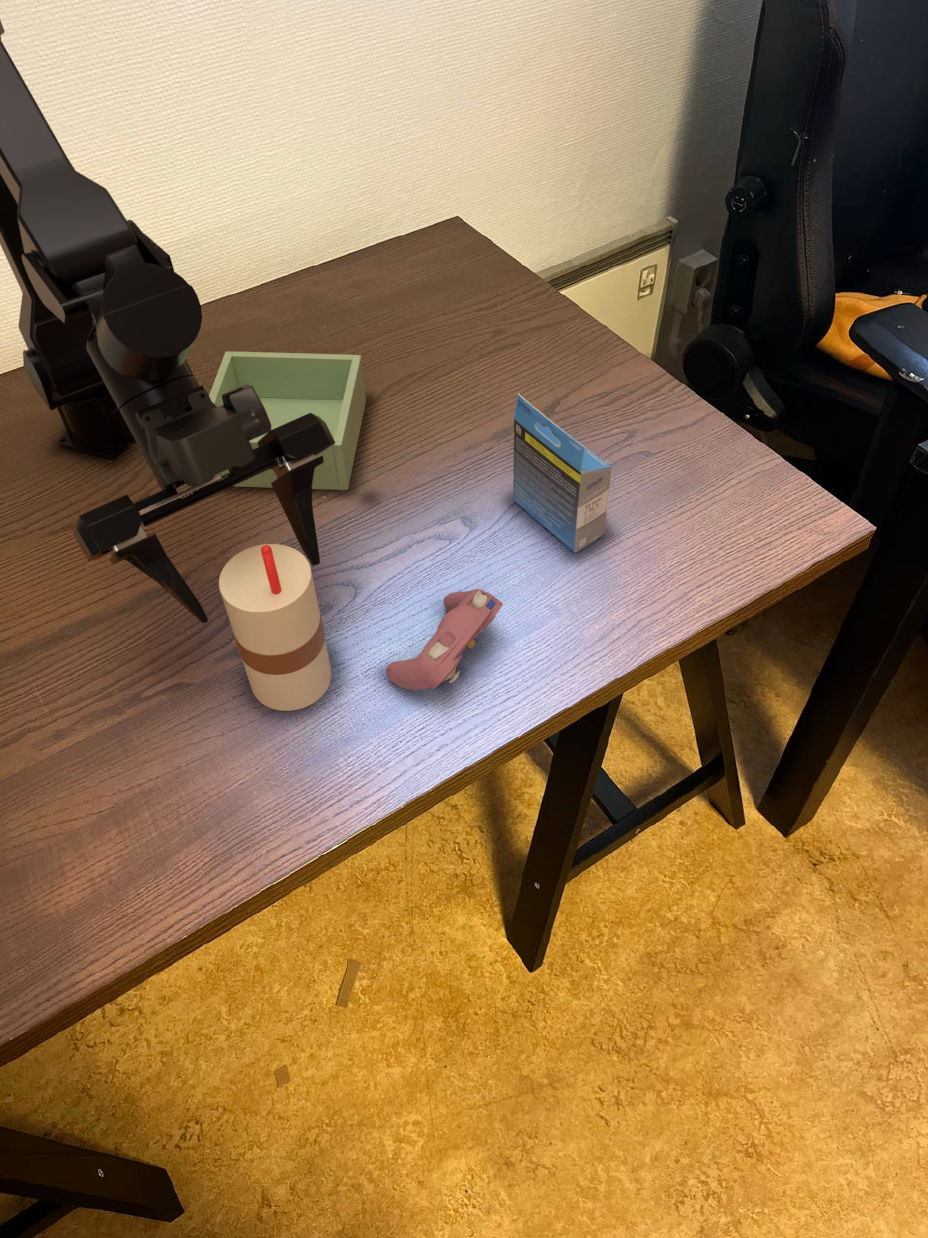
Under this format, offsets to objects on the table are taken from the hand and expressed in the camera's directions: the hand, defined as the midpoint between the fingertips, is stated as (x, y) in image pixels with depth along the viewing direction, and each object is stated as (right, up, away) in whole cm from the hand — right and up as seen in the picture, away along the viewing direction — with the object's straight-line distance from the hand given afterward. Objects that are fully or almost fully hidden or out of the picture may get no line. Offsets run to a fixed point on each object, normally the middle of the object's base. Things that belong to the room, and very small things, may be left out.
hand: (262, 592), depth 69 cm
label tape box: (+23, +7, +17) cm, 30 cm away
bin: (-3, +16, +24) cm, 29 cm away
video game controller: (+13, -5, +7) cm, 16 cm away
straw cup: (+1, -7, +6) cm, 9 cm away
